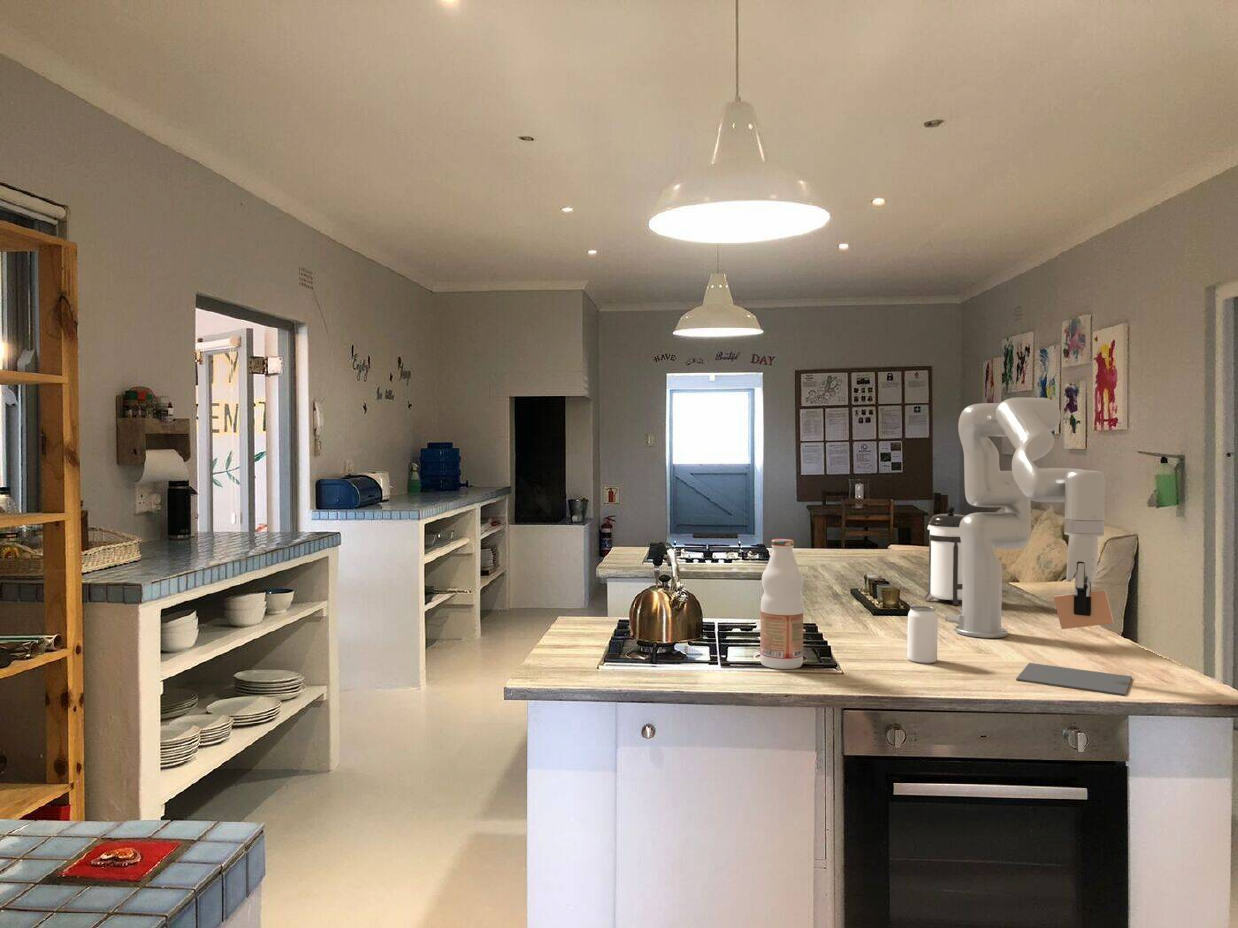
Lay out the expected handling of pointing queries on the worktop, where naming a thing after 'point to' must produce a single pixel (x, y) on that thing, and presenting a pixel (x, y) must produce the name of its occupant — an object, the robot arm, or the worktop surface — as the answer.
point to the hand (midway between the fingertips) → (1082, 613)
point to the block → (1070, 620)
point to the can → (922, 635)
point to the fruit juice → (782, 609)
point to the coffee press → (945, 557)
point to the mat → (1075, 679)
